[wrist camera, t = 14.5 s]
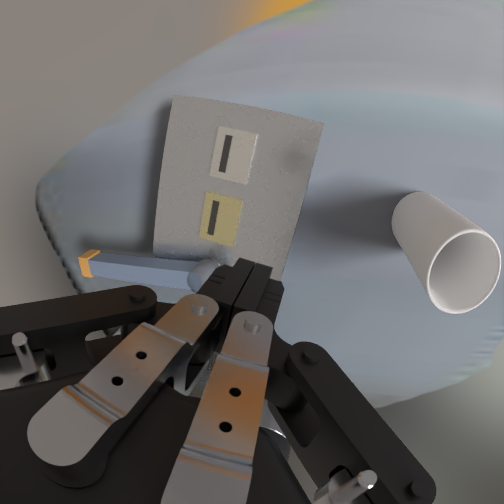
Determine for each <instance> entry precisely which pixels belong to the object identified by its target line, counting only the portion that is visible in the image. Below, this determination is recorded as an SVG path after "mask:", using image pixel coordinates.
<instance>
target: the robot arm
mask: <svg viewBox="0 0 504 504" xmlns="http://www.w3.org/2000/svg"><path fill="white" fill-rule="evenodd" d="M272 269H273V267H270V266H267V265H263V264H260V263H256V262H253V261H250V260H247V259H244V258H240V257H239V259H238V260H237V261H236V263H235V264H234V266H233V267H232V266H229V265H225V264H224V265H222V266H219V267H217V268H216V269H215V270H214V271H213V273H212V274H211V275H210V276H209V278H208V280H206V281H205V283H204V284H203V285H202V287H201V288H200V289H199V290H198V292H197V293H196V294H190V295H186V296H184V297H183V298H181V299H180V300H179V301H178V302H177V303H176V304H171V303H163V302H157V296H156V293H155V292H154V291H153V290H152V289H150V288H148V287H145V286H141V285H131V286H126V287H120V288H114V289H108V290H102V291H97V292H91V293H85V294H79V295H73V296H68V297H62V298H55V299H49V300H43V301H37V302H31V303H24V304H18V305H12V306H6V307H0V504H311V502H310V500H309V499H308V497H307V495H306V494H305V492H304V490H303V489H302V487H301V485H300V484H299V482H298V480H297V478H296V477H295V475H294V473H293V472H292V470H291V468H290V466H289V464H288V463H287V461H288V458H289V454H290V449H291V447H292V448H293V450H294V451H295V453H296V455H297V456H298V458H299V459H300V461H301V463H302V464H303V466H304V467H305V469H306V470H307V472H308V473H309V475H310V476H311V478H312V479H313V481H314V482H315V484H316V485H317V487H318V489H317V490H316V492H315V494H314V498H313V501H314V502H313V503H314V504H432V503H433V501H434V499H435V496H436V486H435V482H434V480H433V479H432V477H431V476H430V475H429V474H428V472H427V471H426V470H425V469H424V468H423V466H422V465H421V464H420V463H419V462H418V461H417V459H416V458H415V457H414V456H413V455H412V453H411V452H410V451H409V450H408V449H407V447H406V446H405V445H404V444H403V443H402V441H401V440H400V439H399V438H398V437H397V436H396V435H395V433H394V432H393V431H392V430H391V428H390V427H389V426H388V425H387V424H386V422H385V421H384V420H383V419H382V418H381V416H380V415H379V414H378V413H377V412H376V410H375V409H374V408H373V407H372V406H371V404H370V403H369V402H368V401H367V400H366V398H365V397H364V396H363V395H362V394H361V392H360V391H359V390H358V389H357V388H356V386H355V385H354V384H353V383H352V382H351V380H350V379H349V378H348V377H347V376H346V374H345V373H344V372H343V371H342V370H341V368H340V367H339V366H338V365H337V363H336V362H335V361H334V360H333V359H332V357H331V356H330V355H329V354H328V353H327V351H326V350H325V349H323V348H322V347H320V346H319V345H317V344H314V343H311V342H298V343H295V344H294V345H290V344H288V343H286V342H285V341H283V340H282V339H281V338H280V337H279V336H278V335H277V334H276V332H275V329H274V323H275V320H276V316H277V313H278V309H279V306H280V302H281V299H282V295H283V292H284V287H283V285H282V282H281V281H277V280H274V279H271V278H270V277H271V273H272ZM117 326H120V333H121V334H118V335H114V336H109V337H105V338H100V339H96V340H91V341H86V340H85V337H86V336H87V335H88V334H89V333H90V332H93V331H98V330H103V329H108V328H112V327H117ZM214 351H216V352H219V353H220V354H218V355H217V358H216V360H215V363H214V366H213V368H212V371H211V374H210V376H209V379H208V382H207V384H206V387H205V390H204V392H203V395H202V398H197V397H191V396H188V395H189V394H190V392H191V391H192V389H193V388H194V386H195V385H196V383H197V382H198V380H199V379H200V377H201V376H202V374H203V372H204V371H205V369H206V368H207V366H208V364H209V359H210V358H211V356H212V354H213V352H214Z"/></svg>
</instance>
